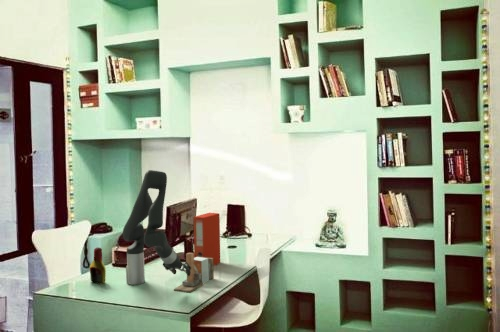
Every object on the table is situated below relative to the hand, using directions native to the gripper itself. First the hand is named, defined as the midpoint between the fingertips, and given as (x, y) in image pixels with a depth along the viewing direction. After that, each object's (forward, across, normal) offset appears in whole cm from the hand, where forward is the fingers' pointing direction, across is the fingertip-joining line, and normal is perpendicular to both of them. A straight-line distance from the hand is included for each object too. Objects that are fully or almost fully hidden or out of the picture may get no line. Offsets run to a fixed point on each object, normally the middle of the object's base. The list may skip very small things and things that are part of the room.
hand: (182, 273), depth 251 cm
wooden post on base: (+13, 0, -1) cm, 13 cm away
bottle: (+5, +54, +8) cm, 55 cm away
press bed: (+16, 0, -2) cm, 16 cm away
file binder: (+42, +12, -28) cm, 52 cm away
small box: (+20, 0, -6) cm, 21 cm away
